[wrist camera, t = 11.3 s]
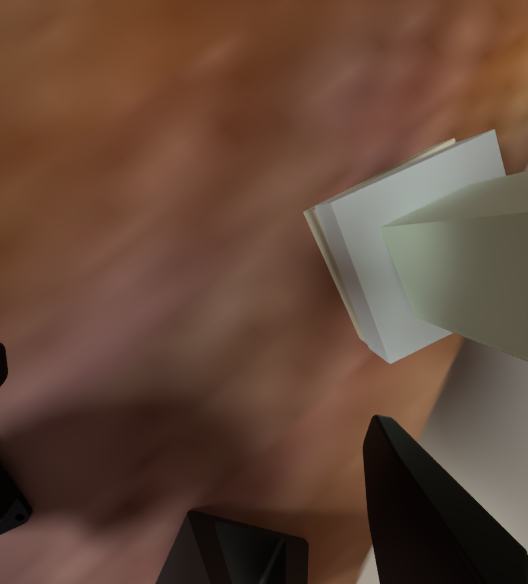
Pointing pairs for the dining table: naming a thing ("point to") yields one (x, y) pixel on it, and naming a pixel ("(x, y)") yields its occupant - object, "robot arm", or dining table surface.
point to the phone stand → (233, 554)
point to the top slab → (372, 248)
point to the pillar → (469, 262)
